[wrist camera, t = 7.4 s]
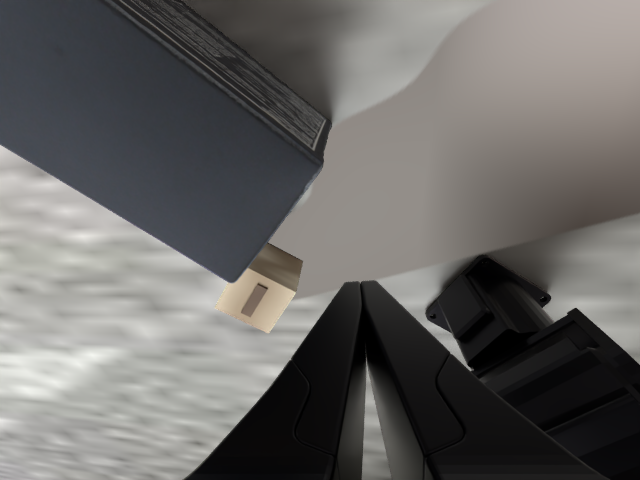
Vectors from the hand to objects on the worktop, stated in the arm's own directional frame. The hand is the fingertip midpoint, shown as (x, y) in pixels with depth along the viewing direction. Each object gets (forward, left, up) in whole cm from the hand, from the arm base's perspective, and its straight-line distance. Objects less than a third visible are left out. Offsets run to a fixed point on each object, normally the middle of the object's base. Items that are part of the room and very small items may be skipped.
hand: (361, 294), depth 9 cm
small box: (+8, 0, -13) cm, 16 cm away
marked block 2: (+1, +9, -13) cm, 16 cm away
